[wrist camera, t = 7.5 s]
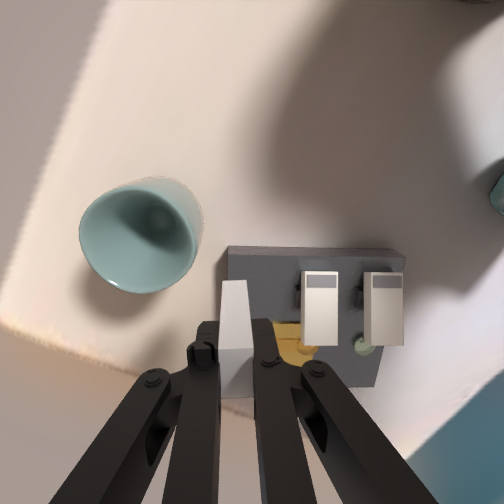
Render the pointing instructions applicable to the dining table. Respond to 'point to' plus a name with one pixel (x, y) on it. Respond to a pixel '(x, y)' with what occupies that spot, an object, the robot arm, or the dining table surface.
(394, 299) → the rocker
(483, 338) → the dining table surface
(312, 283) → the rocker
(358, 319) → the panel
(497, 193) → the flower pot
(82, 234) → the cup
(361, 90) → the dining table surface
